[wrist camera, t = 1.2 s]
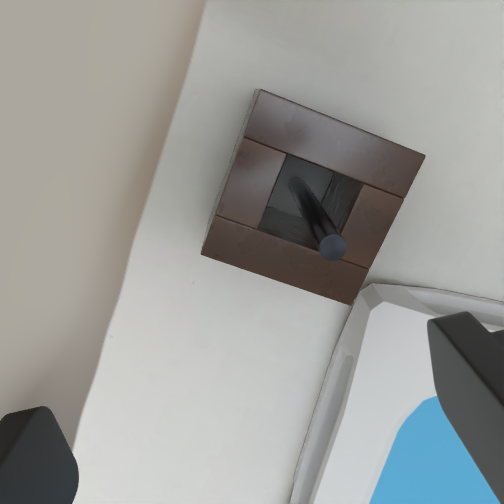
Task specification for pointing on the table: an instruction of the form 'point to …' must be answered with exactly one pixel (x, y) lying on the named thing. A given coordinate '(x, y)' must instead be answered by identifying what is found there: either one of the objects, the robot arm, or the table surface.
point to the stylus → (318, 221)
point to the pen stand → (335, 203)
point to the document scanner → (390, 408)
